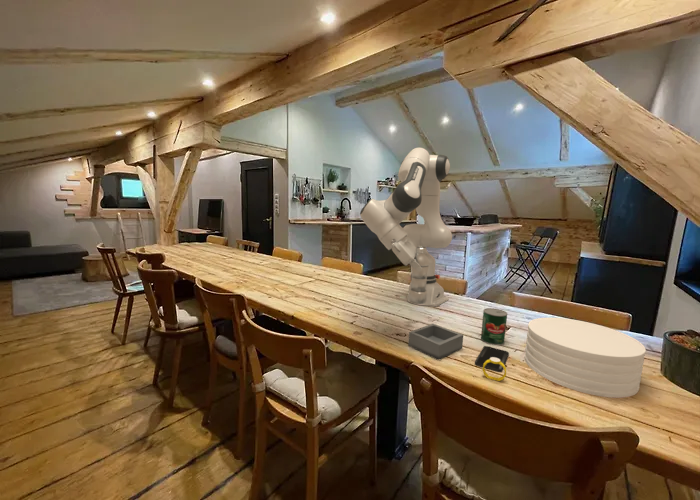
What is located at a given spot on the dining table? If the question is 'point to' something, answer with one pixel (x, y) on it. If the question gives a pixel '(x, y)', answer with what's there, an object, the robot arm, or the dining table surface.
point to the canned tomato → (493, 326)
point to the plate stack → (585, 356)
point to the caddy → (435, 341)
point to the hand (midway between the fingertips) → (421, 268)
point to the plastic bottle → (419, 278)
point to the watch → (495, 361)
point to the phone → (487, 354)
